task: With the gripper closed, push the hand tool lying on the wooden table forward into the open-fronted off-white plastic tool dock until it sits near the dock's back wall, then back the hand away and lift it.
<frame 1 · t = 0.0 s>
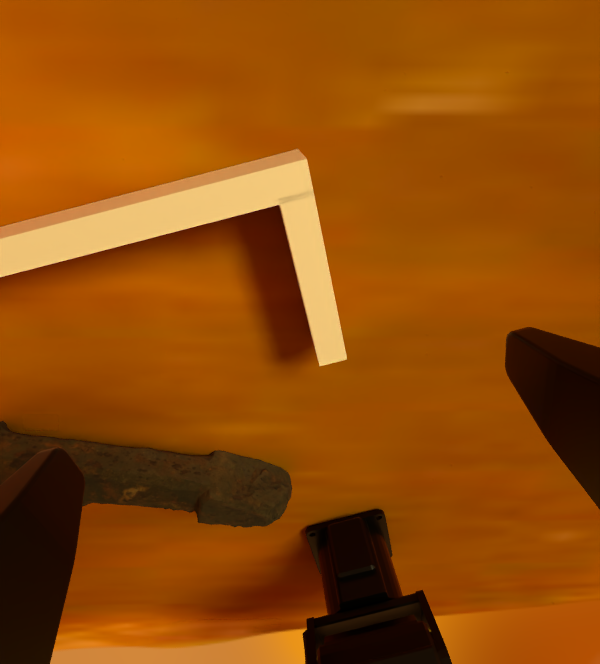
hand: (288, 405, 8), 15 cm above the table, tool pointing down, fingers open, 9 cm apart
tool dock: (79, 324, 23), on the table
hand tool: (154, 445, 28), on the table
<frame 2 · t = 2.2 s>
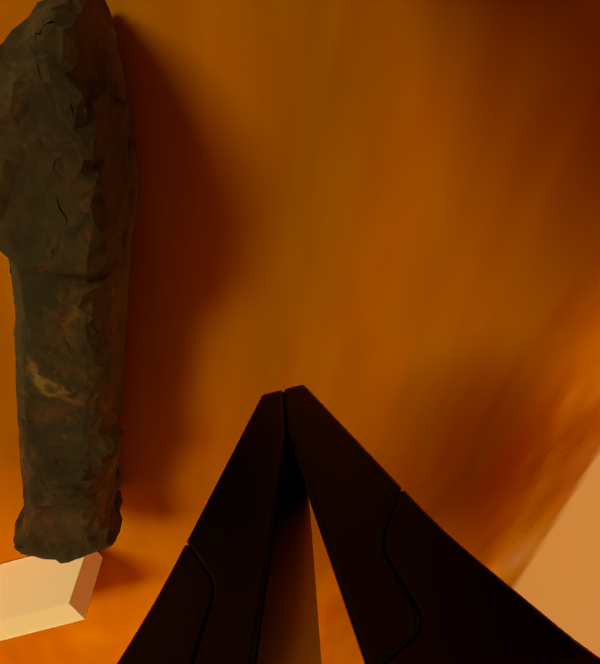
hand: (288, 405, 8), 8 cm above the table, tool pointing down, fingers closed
hand tool: (80, 308, 16), on the table
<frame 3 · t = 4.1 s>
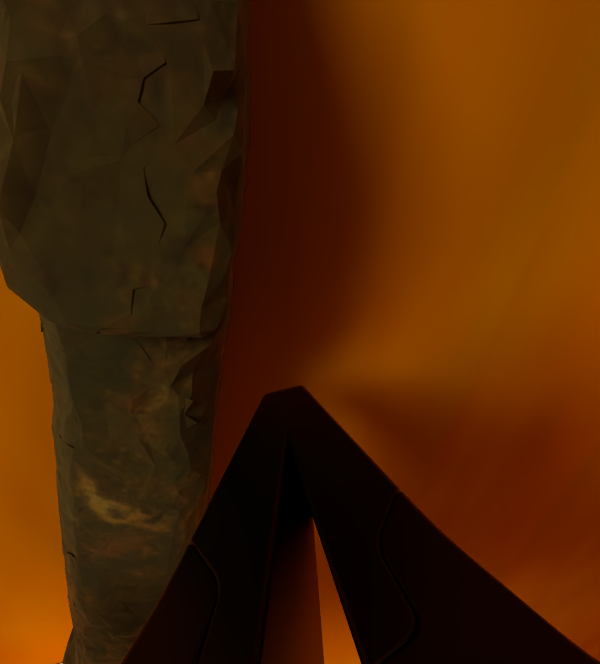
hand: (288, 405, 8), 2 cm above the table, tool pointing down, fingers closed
hand tool: (141, 358, 10), on the table, touching gripper
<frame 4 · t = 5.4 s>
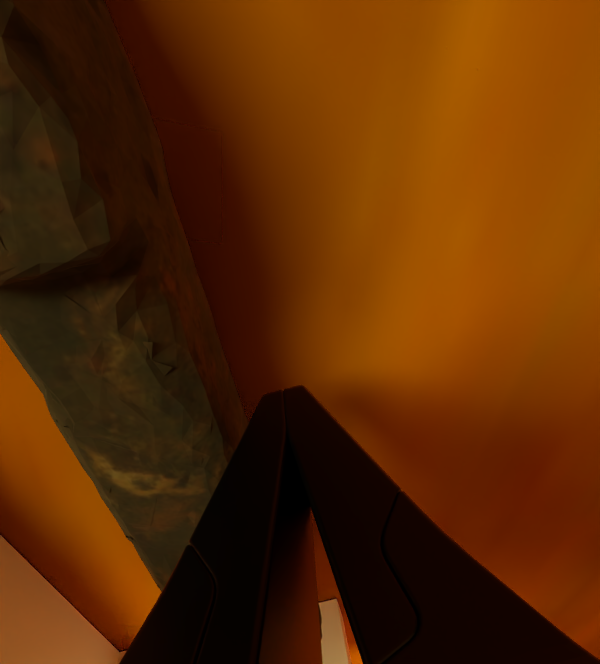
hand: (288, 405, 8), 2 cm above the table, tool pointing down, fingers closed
tool dock: (72, 396, 10), on the table
hand tool: (149, 339, 10), on the table
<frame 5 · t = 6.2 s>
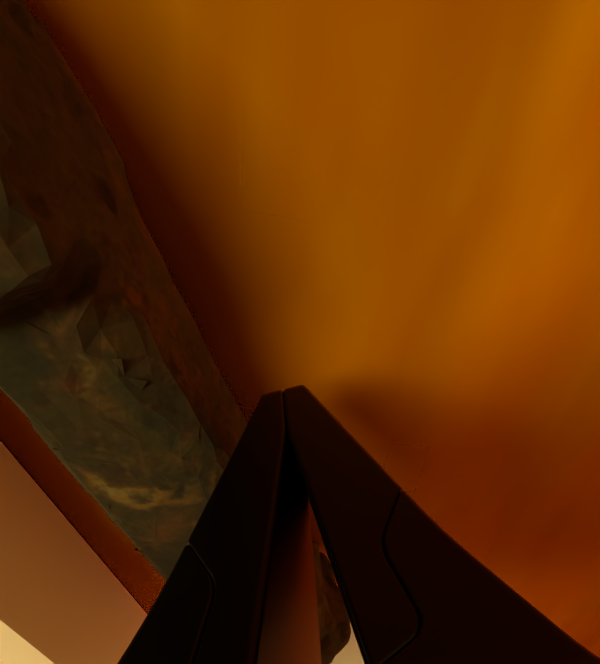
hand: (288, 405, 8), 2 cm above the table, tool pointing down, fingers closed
tool dock: (156, 381, 10), on the table
hand tool: (144, 352, 10), on the table
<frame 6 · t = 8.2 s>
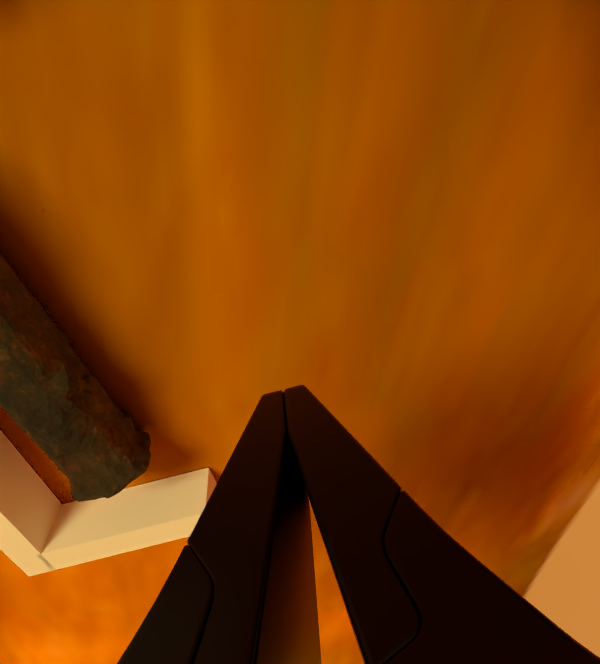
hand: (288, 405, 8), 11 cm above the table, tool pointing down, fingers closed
tool dock: (15, 307, 18), on the table
hand tool: (4, 295, 18), on the table
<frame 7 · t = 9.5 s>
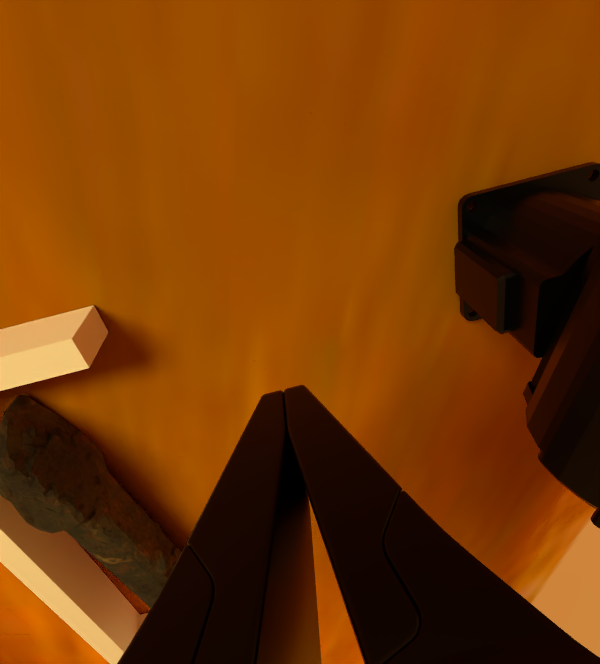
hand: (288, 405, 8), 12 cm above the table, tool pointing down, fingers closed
tool dock: (126, 507, 27), on the table
hand tool: (116, 498, 27), on the table
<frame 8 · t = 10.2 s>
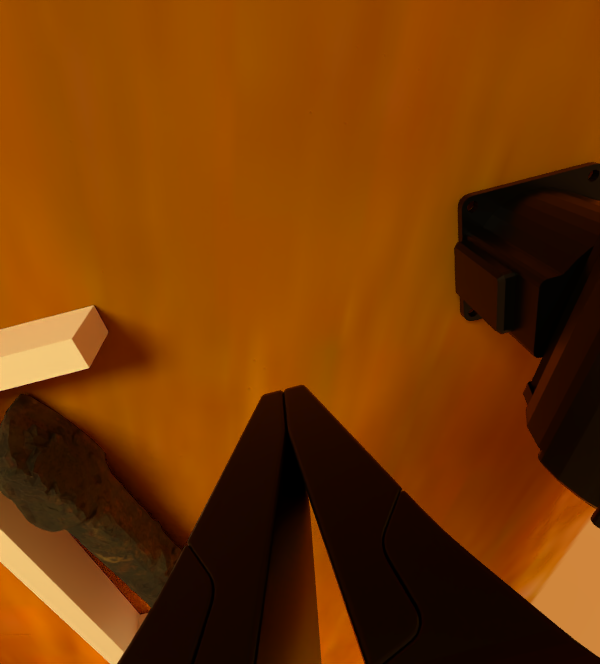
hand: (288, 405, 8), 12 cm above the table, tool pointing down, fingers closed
tool dock: (126, 507, 27), on the table
hand tool: (117, 497, 27), on the table
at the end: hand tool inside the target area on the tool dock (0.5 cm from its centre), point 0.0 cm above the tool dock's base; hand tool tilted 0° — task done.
